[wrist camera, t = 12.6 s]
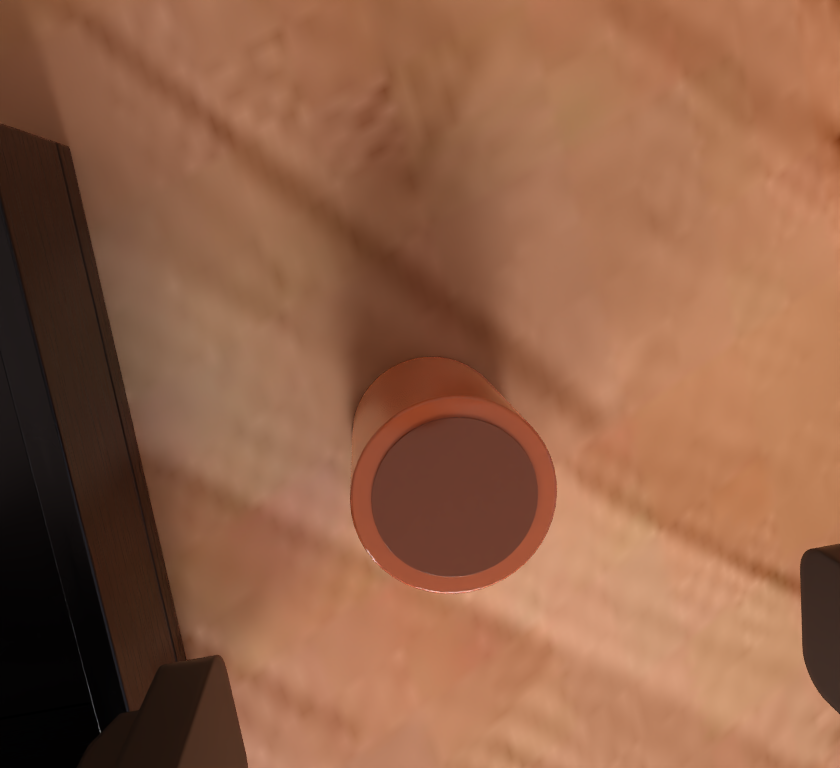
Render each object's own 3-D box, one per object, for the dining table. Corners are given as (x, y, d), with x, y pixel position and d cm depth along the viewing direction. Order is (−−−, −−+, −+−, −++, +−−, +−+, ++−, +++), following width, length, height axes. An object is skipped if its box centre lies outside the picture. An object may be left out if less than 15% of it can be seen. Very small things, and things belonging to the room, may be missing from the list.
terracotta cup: (341, 368, 22) (334, 414, 16) (497, 345, 22) (547, 381, 16) (365, 517, 23) (367, 611, 17) (514, 493, 23) (567, 577, 17)
